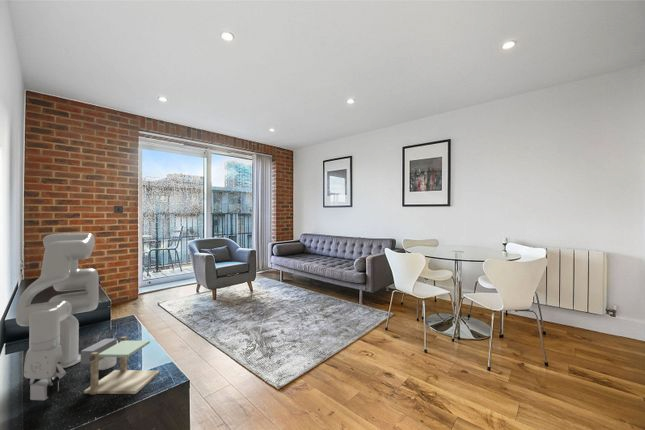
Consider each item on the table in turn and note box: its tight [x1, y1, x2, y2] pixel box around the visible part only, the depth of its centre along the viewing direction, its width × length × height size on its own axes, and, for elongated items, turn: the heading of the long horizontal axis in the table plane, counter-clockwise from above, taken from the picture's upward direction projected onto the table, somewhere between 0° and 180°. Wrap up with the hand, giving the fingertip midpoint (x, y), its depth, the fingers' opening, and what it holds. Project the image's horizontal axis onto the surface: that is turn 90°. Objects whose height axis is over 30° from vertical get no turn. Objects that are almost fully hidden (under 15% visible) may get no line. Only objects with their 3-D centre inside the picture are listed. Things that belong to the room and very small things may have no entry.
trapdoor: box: [80, 338, 151, 365], centre depth 108 cm, size 19×12×5 cm, turn 87°
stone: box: [29, 376, 60, 401], centre depth 95 cm, size 5×5×5 cm
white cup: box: [99, 340, 119, 371], centre depth 120 cm, size 8×8×10 cm
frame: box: [83, 336, 161, 395], centre depth 107 cm, size 20×17×15 cm
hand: (44, 393), depth 95 cm, fingers closed on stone, 5 cm apart
